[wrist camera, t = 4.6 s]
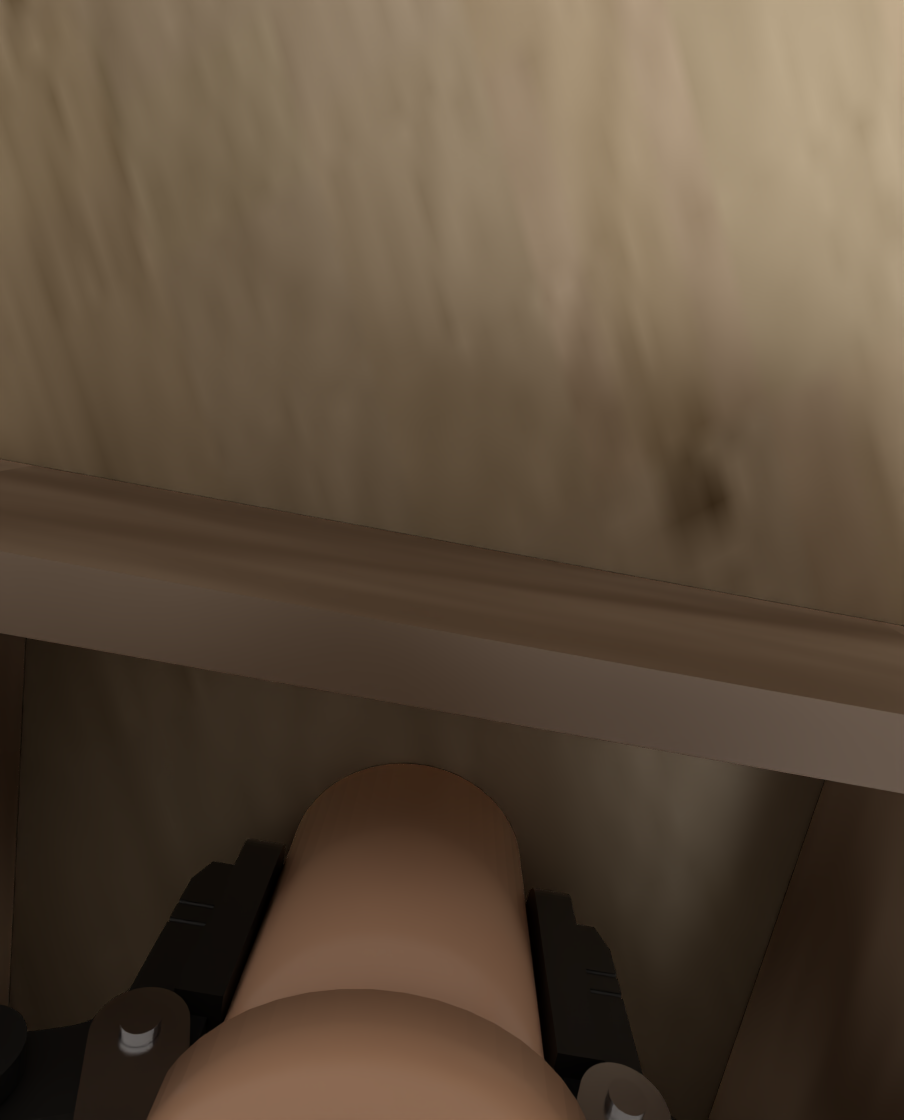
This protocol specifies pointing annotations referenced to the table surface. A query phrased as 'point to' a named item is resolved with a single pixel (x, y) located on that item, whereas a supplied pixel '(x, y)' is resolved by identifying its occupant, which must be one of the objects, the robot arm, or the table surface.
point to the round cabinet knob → (384, 971)
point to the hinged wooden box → (520, 710)
